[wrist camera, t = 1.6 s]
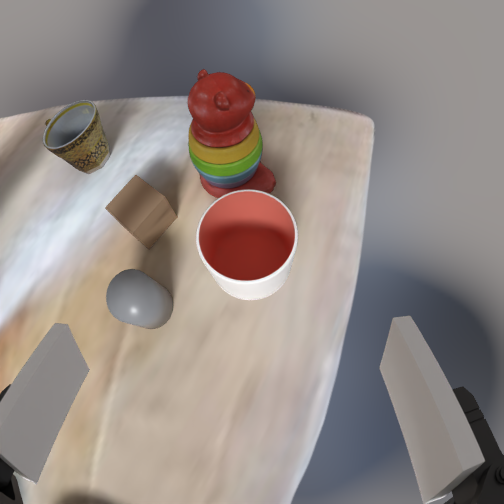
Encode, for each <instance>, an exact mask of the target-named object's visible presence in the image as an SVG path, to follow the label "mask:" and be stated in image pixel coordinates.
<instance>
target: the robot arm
mask: <svg viewBox="0 0 504 504" xmlns="http://www.w3.org/2000/svg"><path fill="white" fill-rule="evenodd" d="M89 370H90V369H89V367H88V366H87V364H86V362H85V360H84V358H83V356H82V354H81V352H80V350H79V348H78V346H77V344H76V342H75V339H74V337H73V335H72V333H71V331H70V329H69V326H68V324H59V323H55V324H54V325H53V326H52V328H51V329H50V330H49V332H48V333H47V334H46V336H45V337H44V338H43V340H42V341H41V342H40V344H39V345H38V347H37V348H36V349H35V351H34V352H33V354H32V355H31V356H30V358H29V359H28V361H27V362H26V364H25V365H24V366H23V368H22V369H21V371H20V372H19V374H18V375H17V377H16V378H15V380H14V381H13V383H12V384H10V385H9V386H8V387H6V388H5V389H4V390H3V391H2V392H1V394H0V504H23V501H22V498H21V494H20V490H19V486H18V482H17V479H16V477H15V476H14V475H13V473H14V471H16V472H17V473H18V474H19V475H20V476H22V477H23V478H25V479H27V480H29V481H31V482H33V483H35V484H37V482H38V480H39V477H40V475H41V472H42V470H43V467H44V465H45V462H46V460H47V458H48V455H49V453H50V451H51V448H52V446H53V444H54V442H55V439H56V437H57V435H58V433H59V431H60V428H61V426H62V424H63V422H64V420H65V418H66V416H67V414H68V411H69V409H70V407H71V405H72V403H73V401H74V399H75V397H76V395H77V393H78V391H79V389H80V387H81V385H82V383H83V381H84V379H85V378H86V376H87V374H88V372H89ZM380 371H381V374H382V376H383V379H384V382H385V384H386V387H387V390H388V392H389V395H390V398H391V401H392V403H393V406H394V409H395V412H396V415H397V418H398V421H399V424H400V427H401V430H402V433H403V436H404V439H405V442H406V445H407V448H408V452H409V455H410V458H411V461H412V465H413V468H414V471H415V475H416V478H417V482H418V486H419V489H420V493H421V497H422V500H423V504H427V503H430V502H433V501H435V500H438V499H441V498H443V497H444V496H446V495H447V494H448V493H450V492H451V491H452V494H453V497H452V498H451V499H449V500H448V501H447V502H445V503H444V504H504V455H503V454H502V452H501V451H500V449H499V447H498V445H497V442H496V440H495V438H494V436H493V434H492V432H491V430H490V428H489V426H488V423H487V421H486V419H484V415H483V413H482V412H481V410H479V406H478V404H477V402H476V400H475V398H474V396H473V395H472V394H471V393H470V392H469V391H467V390H466V389H465V388H464V387H459V388H456V389H453V390H452V388H451V386H450V385H449V383H448V381H447V379H446V377H445V375H444V373H443V372H442V370H441V368H440V366H439V364H438V362H437V360H436V359H435V357H434V355H433V353H432V352H431V350H430V348H429V346H428V345H427V343H426V341H425V339H424V338H423V336H422V334H421V333H420V331H419V329H418V328H417V326H416V324H415V323H414V321H413V319H412V318H411V316H404V317H396V318H393V320H392V324H391V328H390V332H389V335H388V340H387V343H386V347H385V350H384V354H383V357H382V361H381V364H380Z"/></svg>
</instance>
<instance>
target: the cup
mask: <svg viewBox="0 0 504 504" xmlns="http://www.w3.org/2000/svg"><path fill="white" fill-rule="evenodd" d="M196 243H197V249H198V252H199V255H200V257H201V259H202V261H203V262H204V264H205V265H206V267H207V269H208V270H209V272H210V273H211V275H212V276H213V277H214V279H215V280H216V282H217V283H218V285H219V286H220V287H221V288H222V289H223V290H224V291H225V292H227V293H228V294H230V295H232V296H234V297H236V298H239V299H244V300H257V299H262V298H265V297H268V296H270V295H271V294H273V293H275V292H276V291H277V290H278V289H279V288H280V287H281V286H282V285H283V284H284V283H285V281H286V279H287V278H288V275H289V273H290V270H291V266H292V262H293V259H294V255H295V251H296V247H297V243H298V229H297V225H296V221H295V219H294V217H293V215H292V213H291V211H290V210H289V209H288V207H287V206H286V205H285V204H284V203H283V202H282V201H281V200H279V199H278V198H276V197H275V196H273V195H271V194H269V193H266V192H263V191H258V190H238V191H234V192H231V193H228V194H226V195H223V196H222V197H220V198H218V199H217V200H216V201H214V202H213V203H212V204H211V205H210V206H209V207H208V208H207V209H206V211H205V212H204V213H203V215H202V217H201V219H200V221H199V224H198V228H197V233H196Z"/></svg>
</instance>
